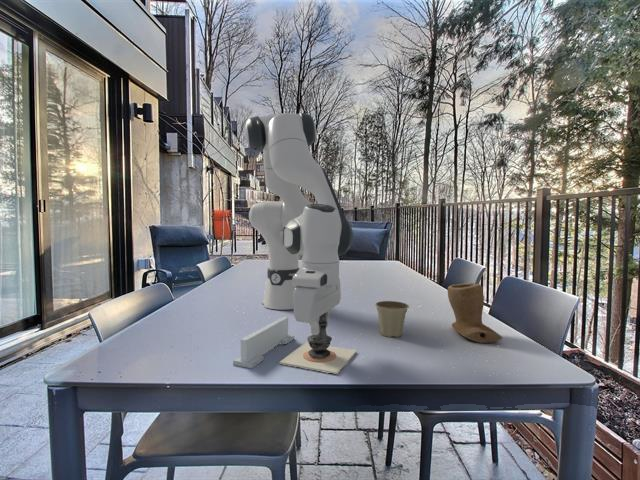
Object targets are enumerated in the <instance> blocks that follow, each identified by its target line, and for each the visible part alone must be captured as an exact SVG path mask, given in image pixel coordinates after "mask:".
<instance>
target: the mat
mask: <svg viewBox="0 0 640 480" xmlns="http://www.w3.org/2000/svg"><path fill="white" fill-rule="evenodd" d="M311 349H312V348H311V347H310V345H309V342H307V341H305V342H304V343H303V344H301V345H300V346H298V347H297V348H296V349H294V350H293V351H292V352H291V353H289V354H288V355H287V356H285V357H284V358H283V359H281V360H280V361H279V365H280V364H283V365H282V366H285V365H288V366H287V367H291V366H294V367H293V368H296V367H301V368H307V369H312V370H319V371H325V372H329V373H334V374H338V372H339V371H340V370H341V369H342V368H343V367H344V366H345V365H346V366H347V365H348V363H349V362H350V361H351V360H352V359H353V358H354V357H355V355H356V354H357V350H356V349H349V348H344V347H338V346H331V345H329V347H328V348H327V350H329V351H330V355H329V356H327V357H321V358H319V357H312V356H310V355H309V354H308V352H309V351H310V350H311ZM355 353H356V354H355ZM354 354H355V355H354ZM351 358H352V359H351ZM350 359H351V360H350ZM349 360H350V361H349ZM346 366H345V367H346ZM345 367H344V368H345ZM301 368H300V369H301ZM344 368H343V369H344ZM343 369H342V370H343ZM312 370H311V371H312ZM342 370H341V371H342ZM341 371H340V372H341ZM338 375H339V374H338Z"/></svg>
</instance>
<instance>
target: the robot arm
mask: <svg viewBox="0 0 640 480" xmlns="http://www.w3.org/2000/svg"><path fill="white" fill-rule="evenodd" d="M243 131H244V132H243V133H244V139H245V143H246V144H247V145H248V148H249V149H250V150H252V151H253V152H258V153H260V152H261V153H262V152H263V153H262V154H263V155H262V156H263V161H262V162H263V170H264V172H263V173H264V180H265V181H264V183H265V187H266V189H268V191H269V192H270V193H272V194H274V195H276V196H277V197H279V198H280V199H281V200H282V201H279V200H277V201H276V200H275V201H273V200H270V201H267V200H266V201H261V202H256V203H253V204H252V206H251V208H250V209H249V212H248V220H249V223H250V225H251V226H252V227H253V229H255V230H256V231H258V233H259V234H261V237H262V238H263V240H264V241H265V244H266V247H267V253H268V267H267V273H266V274H267V280H266V281H265V283H264V291H263V292H264V295H263V299H261V304H262V305H263V306H264V307H265V308H267V309H270V310H280V311H281V310H284V311H285V310H287V311H288V310H293V315H294V318H295V321H296V322H297V323H303V324H304V323H306V324H309V325H310V333H311V335H318V334H319V333H320V332H321V330H320V329H321V326H319V322H318V321H319V317H320V316H321V315H323V314H324V313H326V322H327V324H326V329H328V326H329V319H330V316H331V310H332V309H333V308H335V307H336V306H338V305H339V304H340V303H341V299H342V298H341V297H342V293H341V292H342V291H341V279H340V257H339V256H343V255H344V254H346V253H347V252H348V250H350V248H351V246H352V245H353V243H354V231H353V228H352V226H351V224H350V223H349V221H348V219H347V217H346V216H345V214H344V211H343V210H342V207H341V205H340V202H339V199H338V197H337V195H336V193H335V190H334V187H333V184H332V182H331V180H330V178H329V175H328V174H327V172H326V170H325V169H324V168H323V167H322V166H321V165H319V164H318V162H317V161H316V160H315V158H314V157H313V155H312V153H311V151H310V149H309V147H310V146H312V145H313V143H314V142H315V138H316V136H317V135H316V133H317V127H316V124H315V121H314V119H313V116H311V114H308V113H303V112H299V113H291V112H290V113H288V112H287V113H286V112H285V113H284V112H283V113H281V112H279V113H278V114H277V113H276V114H267V115H262V116H259V115H257V116H253V117H252V116H251V117H250V118H248V119H247V120H246V122H245V127H244V130H243ZM300 188H302V189H304V190H306V191H308V192H310V194H312V195H313V196H314V199H316V202H317V203H312V202H311V201H310V200H308V199H307V198H306V197H305V195H304V194H303V192H302V191H301V189H300ZM299 256H302V258H301V266H300V267H299Z"/></svg>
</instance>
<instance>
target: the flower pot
mask: <svg viewBox="0 0 640 480" xmlns="http://www.w3.org/2000/svg"><path fill="white" fill-rule="evenodd" d="M409 306H410V305H409V304H407V303H405V302H401V301H396V300H383V301H378V302H375V307H376V309H377V313H378V322H379V325H378V326H379V333H380V335H382V336H385V337H389V338H392V337H396V338H399V337H401V336H402V335H403V330H404V325H405V319H406V314H407V311H408V309H409Z"/></svg>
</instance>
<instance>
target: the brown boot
mask: <svg viewBox="0 0 640 480" xmlns="http://www.w3.org/2000/svg"><path fill="white" fill-rule="evenodd" d="M447 297H448V302H449V304H450V306H451V309H452V311H453V315H454V317H455V321H454V322H452V323H451V328H452V329H453V330H454V331H456V332H457V333H458V334H460V335H461V336H463V338H466V339H468V340H470V341H473V342H477V343H483V344H487V343H494V342H495V343H496V342H499V341H501V340H502V339H503V336H502V335H501V334H499V332H496V330H494V329H492V328H490V327H489V326H488V325H485V324H484V323H483V320H482V319H483V317H482V316H483V310H484V306H485V295H484V288H483V287H482V285H481V284H480V283H472V282H468V283H467V282H466V283H459V284H458V283H457V284H451V285H449V286H448V287H447Z"/></svg>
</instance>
